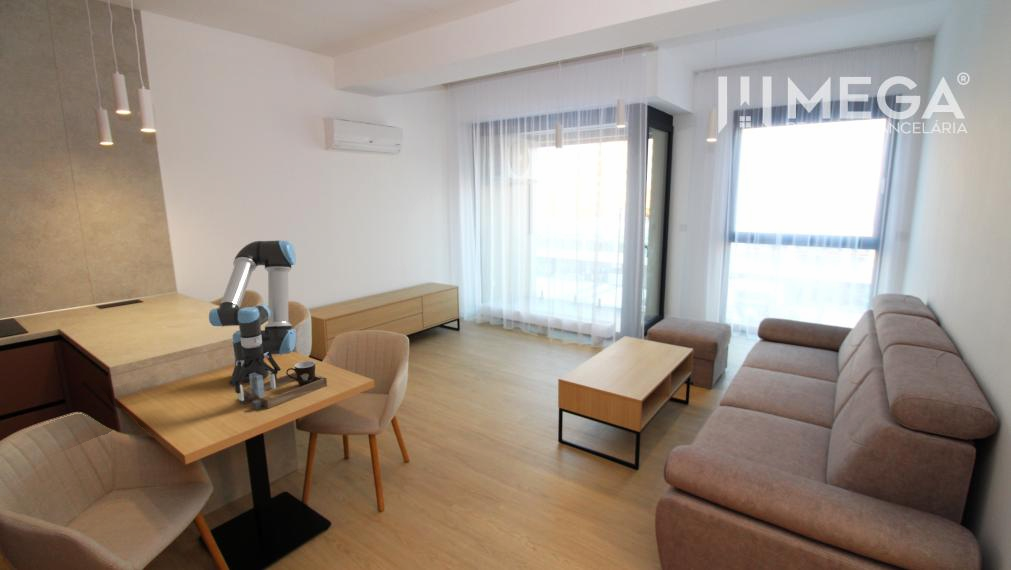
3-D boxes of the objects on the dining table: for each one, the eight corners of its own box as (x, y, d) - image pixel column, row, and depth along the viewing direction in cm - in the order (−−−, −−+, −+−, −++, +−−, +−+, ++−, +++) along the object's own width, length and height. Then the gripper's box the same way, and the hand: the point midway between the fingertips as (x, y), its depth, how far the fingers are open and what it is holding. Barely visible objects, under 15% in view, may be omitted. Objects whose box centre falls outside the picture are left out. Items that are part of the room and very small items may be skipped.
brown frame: (244, 397, 203) (241, 371, 200) (302, 376, 225) (300, 352, 223) (268, 408, 193) (265, 380, 190) (326, 385, 215) (324, 360, 213)
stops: (239, 402, 199) (239, 395, 198) (244, 400, 200) (243, 393, 200) (256, 410, 192) (255, 403, 191) (261, 408, 193) (260, 401, 193)
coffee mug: (320, 381, 219) (319, 361, 217) (310, 389, 211) (308, 368, 209) (297, 380, 221) (295, 360, 219) (286, 387, 213) (284, 366, 211)
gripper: (224, 356, 182) (231, 407, 186) (286, 338, 202) (290, 385, 206) (215, 352, 186) (222, 402, 190) (276, 335, 206) (281, 381, 210)
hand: (257, 393), depth 198 cm, fingers open, 13 cm apart
